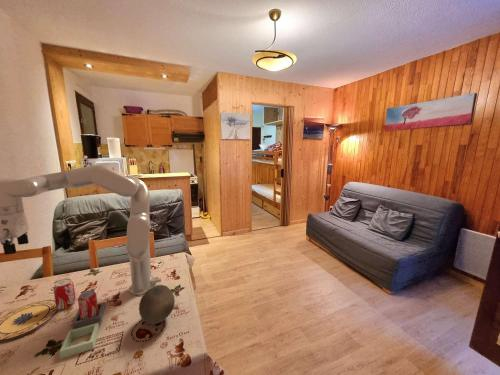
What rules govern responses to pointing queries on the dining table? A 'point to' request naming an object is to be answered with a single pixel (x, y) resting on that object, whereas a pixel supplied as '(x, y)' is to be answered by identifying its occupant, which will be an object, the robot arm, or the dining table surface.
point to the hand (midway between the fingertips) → (17, 248)
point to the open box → (82, 333)
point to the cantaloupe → (156, 304)
